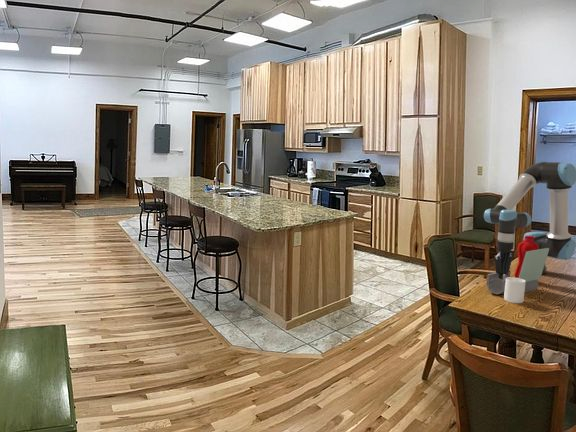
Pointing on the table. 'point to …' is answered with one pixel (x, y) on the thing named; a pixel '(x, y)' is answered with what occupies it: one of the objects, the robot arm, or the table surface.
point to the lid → (533, 264)
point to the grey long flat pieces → (528, 285)
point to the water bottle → (524, 252)
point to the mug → (496, 285)
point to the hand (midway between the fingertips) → (501, 286)
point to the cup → (514, 290)
